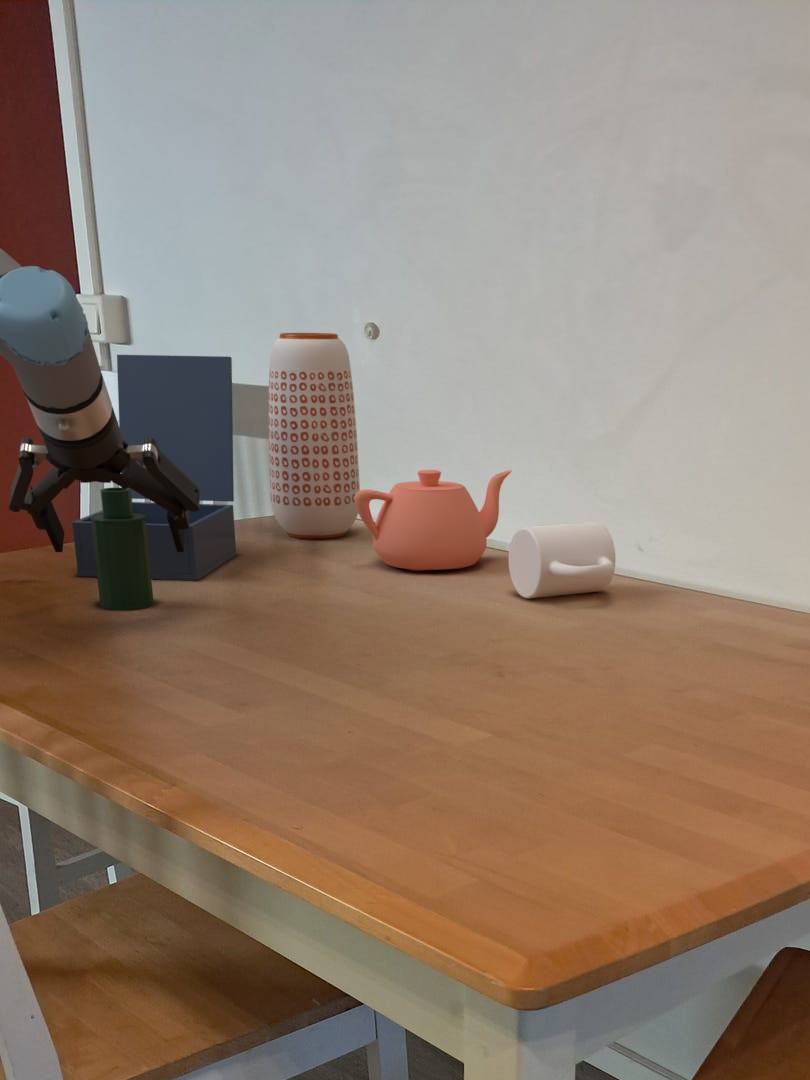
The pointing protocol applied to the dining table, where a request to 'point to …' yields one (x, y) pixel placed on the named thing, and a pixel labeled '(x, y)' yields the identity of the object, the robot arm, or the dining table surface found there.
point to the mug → (561, 559)
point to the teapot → (430, 522)
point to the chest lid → (181, 415)
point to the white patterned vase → (312, 436)
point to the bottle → (121, 553)
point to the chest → (170, 542)
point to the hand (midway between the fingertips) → (120, 542)
